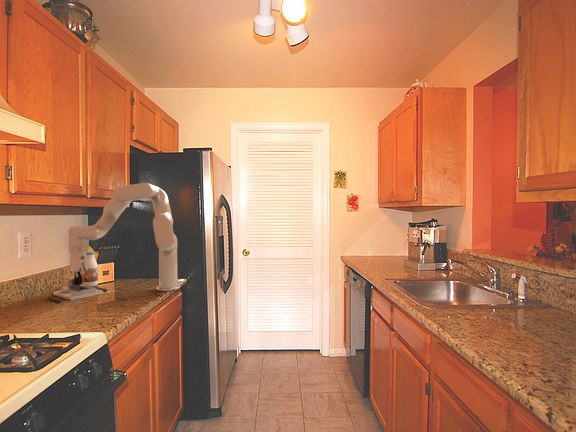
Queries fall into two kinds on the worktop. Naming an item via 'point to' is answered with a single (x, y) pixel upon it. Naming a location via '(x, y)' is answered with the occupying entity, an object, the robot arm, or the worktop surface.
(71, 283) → the block
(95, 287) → the cord
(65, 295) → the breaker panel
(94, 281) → the milk bottle
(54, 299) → the cord
